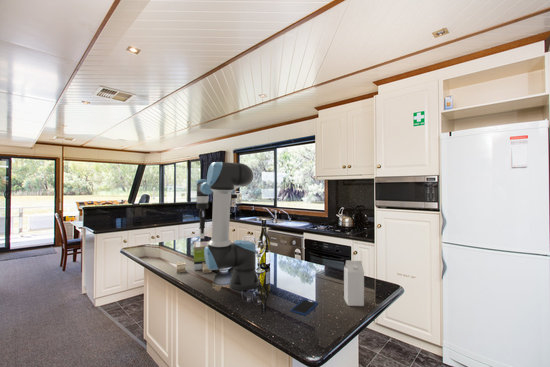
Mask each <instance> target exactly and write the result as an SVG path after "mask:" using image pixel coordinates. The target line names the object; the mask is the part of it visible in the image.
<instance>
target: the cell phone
mask: <svg viewBox="0 0 550 367" xmlns="http://www.w3.org/2000/svg"><path fill="white" fill-rule="evenodd" d="M318 304H319V302H317V301H314V300H311V299H307V298H304V299H302V300H301V301H299V302H298V303H297V304H296V305H295V306H294V307H292V308H291V309H290V311H292V312H291V313H293V312H295V313H294V314H296V313H298V314H297V315H301V316H303V315H304V316H307V315H308V314H310V313H311V311H312V310H313V309H314V308H316V307H317V305H318Z"/></svg>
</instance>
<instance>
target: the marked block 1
mask: <svg viewBox="0 0 550 367" xmlns="http://www.w3.org/2000/svg"><path fill="white" fill-rule="evenodd" d="M178 272H179V273H186V261H177V262H176V273H177V274H178Z"/></svg>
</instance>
